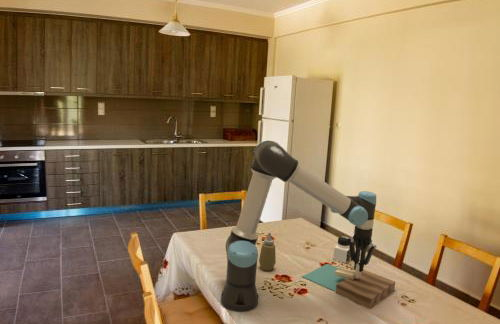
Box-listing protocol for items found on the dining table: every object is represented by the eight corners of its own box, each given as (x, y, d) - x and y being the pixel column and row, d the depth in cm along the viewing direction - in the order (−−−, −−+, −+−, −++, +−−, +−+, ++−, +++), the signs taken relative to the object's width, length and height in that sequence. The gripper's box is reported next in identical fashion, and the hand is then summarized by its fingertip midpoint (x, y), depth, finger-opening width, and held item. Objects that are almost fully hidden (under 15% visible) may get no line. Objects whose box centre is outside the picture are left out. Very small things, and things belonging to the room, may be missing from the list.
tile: (352, 279, 171) (352, 275, 171) (334, 275, 178) (334, 271, 177) (359, 275, 176) (359, 271, 176) (341, 271, 182) (341, 267, 182)
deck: (370, 308, 157) (371, 299, 156) (335, 293, 167) (336, 284, 167) (394, 289, 174) (395, 281, 174) (361, 277, 185) (362, 269, 184)
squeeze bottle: (273, 273, 182) (276, 236, 179) (257, 270, 184) (259, 234, 181) (276, 266, 190) (279, 231, 187) (260, 263, 192) (262, 229, 189)
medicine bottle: (346, 263, 199) (348, 241, 197) (332, 259, 203) (335, 238, 201) (350, 259, 205) (353, 237, 203) (337, 255, 209) (339, 234, 207)
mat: (335, 292, 168) (335, 291, 168) (301, 277, 180) (301, 276, 180) (359, 277, 184) (359, 276, 184) (327, 264, 196) (327, 263, 196)
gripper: (381, 229, 167) (375, 280, 171) (354, 221, 176) (348, 269, 180) (373, 232, 162) (367, 285, 166) (346, 224, 171) (340, 274, 174)
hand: (357, 277), depth 173 cm, fingers closed
